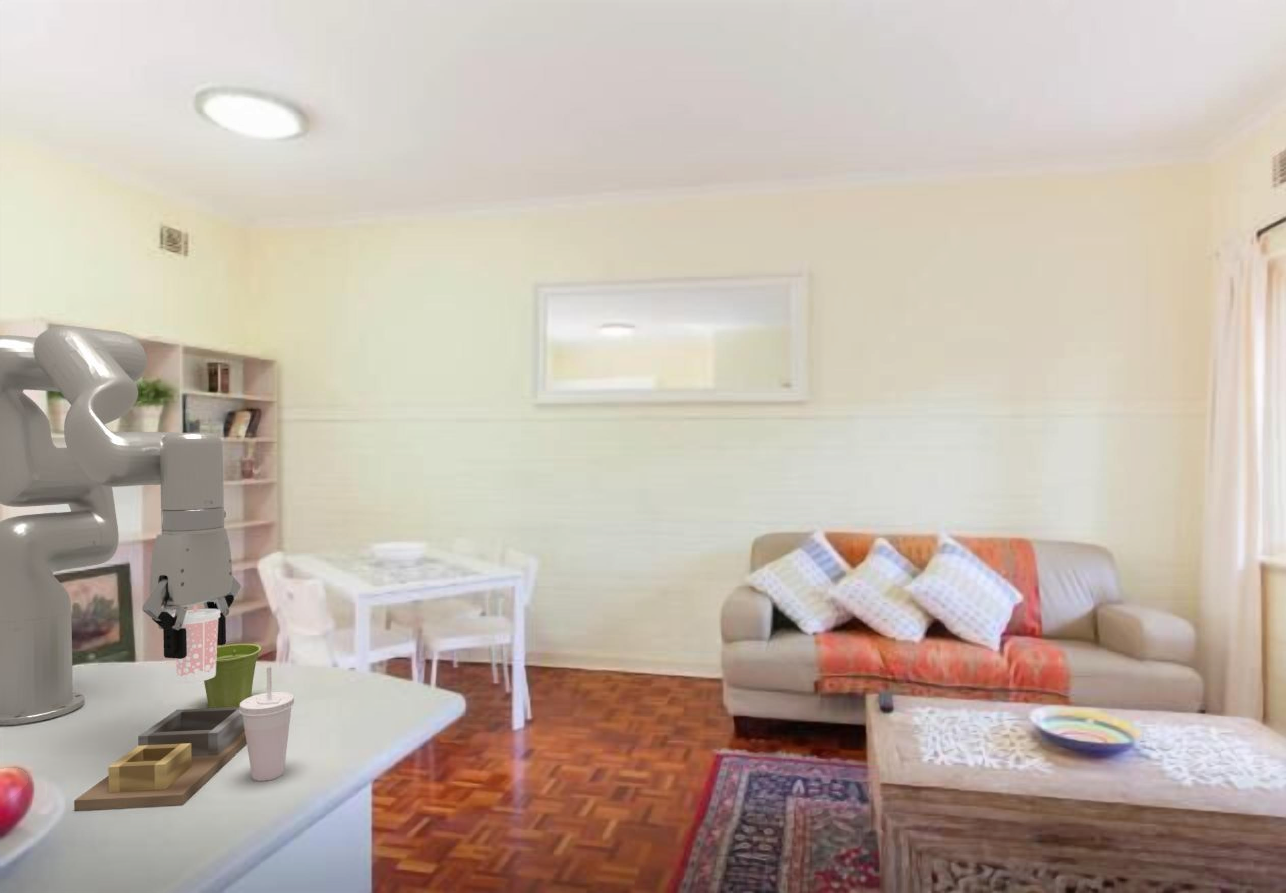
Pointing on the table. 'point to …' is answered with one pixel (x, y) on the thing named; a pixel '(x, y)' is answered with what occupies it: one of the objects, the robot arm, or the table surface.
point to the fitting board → (170, 760)
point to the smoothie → (267, 730)
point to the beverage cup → (199, 645)
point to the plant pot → (232, 675)
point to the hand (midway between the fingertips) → (195, 649)
